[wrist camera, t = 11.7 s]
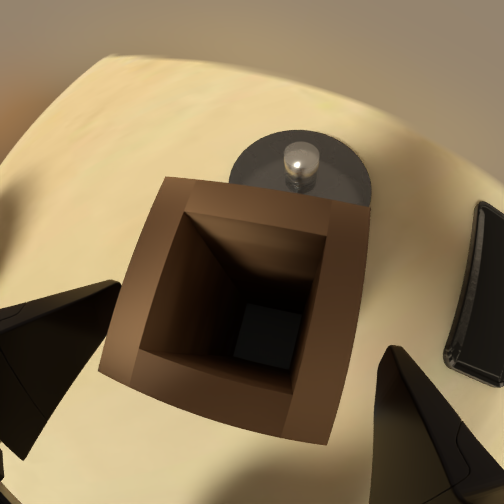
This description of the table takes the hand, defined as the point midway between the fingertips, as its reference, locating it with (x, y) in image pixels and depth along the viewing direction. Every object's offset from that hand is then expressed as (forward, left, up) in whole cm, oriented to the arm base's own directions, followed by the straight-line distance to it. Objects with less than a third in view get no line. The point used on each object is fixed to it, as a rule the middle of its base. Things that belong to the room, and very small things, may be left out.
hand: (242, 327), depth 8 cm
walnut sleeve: (0, 0, -9) cm, 9 cm away
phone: (-11, -16, -11) cm, 22 cm away
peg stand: (+7, -10, -10) cm, 16 cm away
